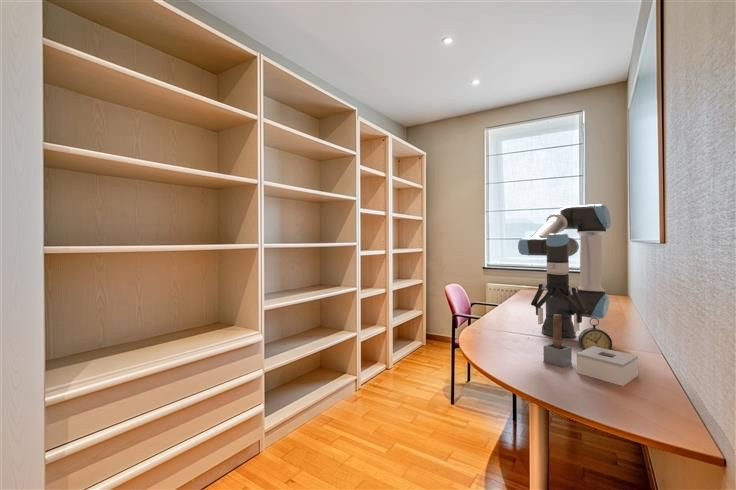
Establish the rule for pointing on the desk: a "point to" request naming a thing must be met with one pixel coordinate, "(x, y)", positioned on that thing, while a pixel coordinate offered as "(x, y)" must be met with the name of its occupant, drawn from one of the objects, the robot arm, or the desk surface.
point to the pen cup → (558, 355)
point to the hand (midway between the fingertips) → (557, 327)
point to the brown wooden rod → (557, 330)
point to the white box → (607, 365)
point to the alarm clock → (594, 338)
